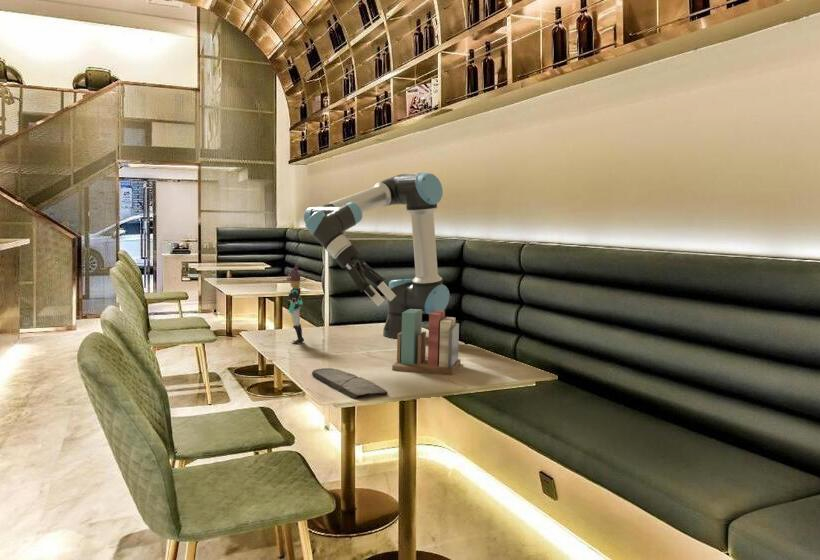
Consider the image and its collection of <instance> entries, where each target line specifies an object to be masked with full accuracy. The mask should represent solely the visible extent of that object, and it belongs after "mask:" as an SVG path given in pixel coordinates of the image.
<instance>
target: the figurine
mask: <svg viewBox="0 0 820 560" xmlns="http://www.w3.org/2000/svg"><path fill="white" fill-rule="evenodd" d="M299 265H300V262H299V263H296V264H295V266H294V267H293V268H292V269H291V270H290V273H288V275H287V277H286V279H283V280H281V282H282V283H287V282H289V283H290V287H291V288H292V289H290V290H289V292H288V298H289V299H286V301H288V302H289V306H288V307H289V308H288V310H287V312H288V313H289V314H290V317H291V322H292V324H293V326H292V329H294V331H295V333H296V336H297V339H296V340H292V342H291V344H292V345H298V344H303V342H304V341H305V339H304V337H303V328H302V324H301V322H300V319H301V315H300V310H301V309H302V307H301V306H299V305H304V304H303V303H304V302H303V298H302V297H301V292H302V291H301V290H302V287H300V285H301V282H305V281H307V280H308V279H301V275H300V273H299V271H298V270H299ZM290 275H291V276H290Z"/></svg>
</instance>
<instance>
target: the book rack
mask: <svg viewBox="0 0 820 560" xmlns="http://www.w3.org/2000/svg"><path fill="white" fill-rule="evenodd" d="M456 320H457V319H456V317H453V316H446V310H444V311H441V310H435V311H434V312H432V313H430V314H428V341H427V332H426V331H421V334H419V335H418V355H417V362H416V363H415V364H414V365H412V364H401V338H402V331H401V332H400V333H398V334H397V338H396V339H397V341H396V346H397V347H396V362H394V363H393V364H392V369H391V371H398V372H399V371H401V372H413V373H423V374H424V373H426V374H439V375H449V376H452V375H453V374H454V372H456V370H457V369H458V367H460V365H461V358H459V340H460V338H459V335H460V323H458V322H456ZM426 341H427V342H428V346H427V342H426ZM426 347H427V348H426ZM426 349H427V351H428V352H427V356H426Z"/></svg>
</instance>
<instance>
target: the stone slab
mask: <svg viewBox="0 0 820 560" xmlns="http://www.w3.org/2000/svg"><path fill="white" fill-rule="evenodd" d="M311 375H312V377H313V378H314V379H315V380H317V381H319V382H321V383H322V384H324V385H326V386H328V387H329V388H332V390H335V391H337V392H339V393H341V394H342V395H345V396H347V397H348V398H350V399H354V400H356V398H358V397H360V396H364V395H371V394H380V395H385V396H388V391H387V390H386V389H384V388H383V387H381V386H380V385H378V384H377V383H375V382H373V381H370V380H369V379H366V378H364V377H361V376H360V377H359V376H358V375H356V374H354V373H350V372H346V371H343V370H340V369H337V368H330V367H329V368H327V367H325V368H318V369H313V370H312V372H311Z"/></svg>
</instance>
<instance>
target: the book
mask: <svg viewBox="0 0 820 560" xmlns="http://www.w3.org/2000/svg"><path fill="white" fill-rule="evenodd" d="M422 321H423V313H422V309H408V310H406V311H404V312H402V338H401V364H412V365H414V364H415V363H416V362H417V355H418V335H419V334H421V333H422V327H423V326H422V325H423V324H422V323H423V322H422Z"/></svg>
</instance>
